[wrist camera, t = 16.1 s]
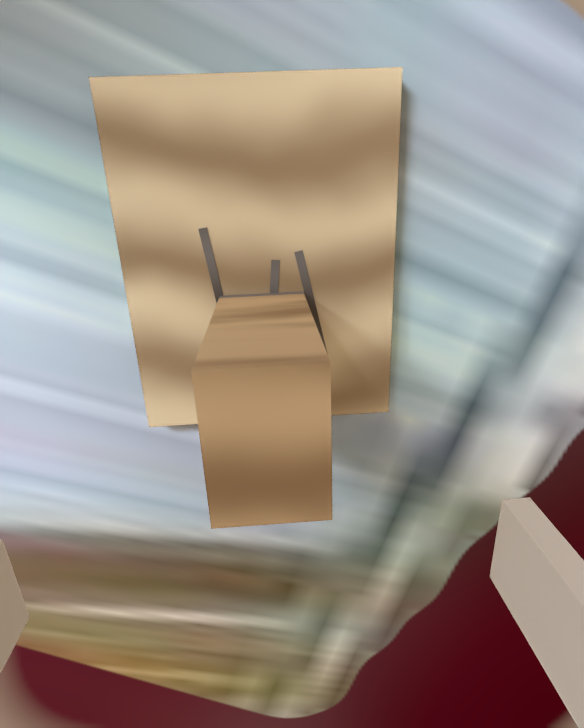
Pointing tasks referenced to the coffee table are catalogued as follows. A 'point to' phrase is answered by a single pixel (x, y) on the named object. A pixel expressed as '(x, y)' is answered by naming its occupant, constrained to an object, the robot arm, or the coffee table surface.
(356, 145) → the board
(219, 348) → the block
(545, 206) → the coffee table surface
